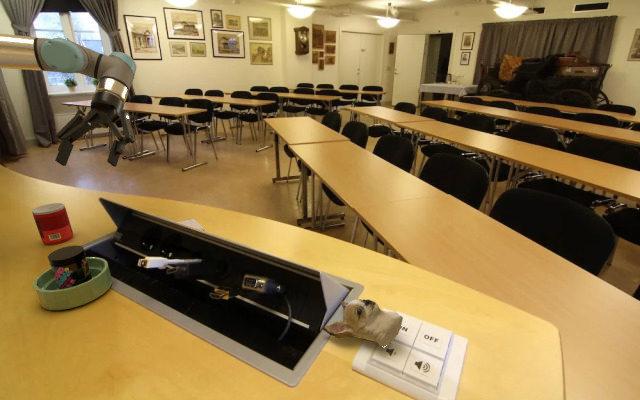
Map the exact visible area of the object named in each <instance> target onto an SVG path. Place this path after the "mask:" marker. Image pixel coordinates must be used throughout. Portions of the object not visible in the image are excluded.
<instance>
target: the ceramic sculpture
mask: <svg viewBox="0 0 640 400" xmlns="http://www.w3.org/2000/svg"><path fill="white" fill-rule="evenodd" d="M339 303H340V305H341V307H342V309H343V313H342V320H341V321H340V320H339V321H335V322H333V323H331V324H329V325H326V326H321V327H320V328H321V330H323V331H324V332H325V333H327V334H328V335H330V336H331V337H334V338H336V339H342V340H343V339H350V338H351V339H352V338H357V339H364V340H367V341H371V342H372V341H373V342H375V343H376V344H378V346H379V347H381V346H383V347H384V346H386V345H388V344H389V343H391V342H392V341H393V342H394V340H395V338H397V336H398V335H399V333H400V331H401V327H402V324H403V319H404V317H403V316H402V315H400V314H398V312H396V311H387V310H383V309H381V308H380V307H379V304H377V302H376V301H374V300H371V299H361V298H356V299H353V300H351V301H350V302H345V301H343V300H340V301H339ZM393 342H392V343H393ZM392 343H391V344H392ZM389 345H390V344H389ZM389 345H388V346H389Z"/></svg>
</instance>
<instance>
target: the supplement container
mask: <svg viewBox="0 0 640 400" xmlns="http://www.w3.org/2000/svg"><path fill="white" fill-rule="evenodd" d="M86 257H87V255H86V251H85V248H84V246H83V245H78V244H76V245H68V246H67V245H66V246H64V247H60V248H57V249H55V250H54V251H51V252H50V253H49V254H48V255H47V260H48V264H49V265H50V268H51V269H52V271H53V274H54V277H55V280H56V283H57V286H58V289H59V290H60V289H67V288H70V287H74V286H77V285H80V284H82V283H85V282H87V281H89V280H91V279H92V275H91V272H90V269H89V265H88V262H87V258H86Z"/></svg>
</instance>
